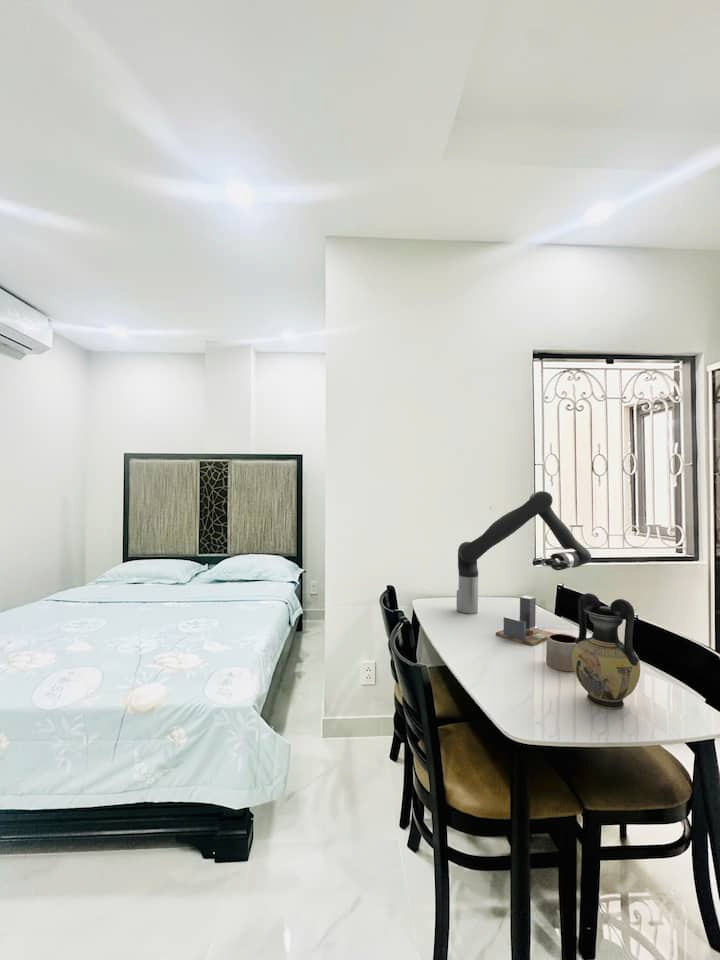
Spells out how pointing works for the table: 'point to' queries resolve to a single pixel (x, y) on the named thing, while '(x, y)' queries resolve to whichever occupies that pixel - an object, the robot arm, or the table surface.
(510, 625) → the grey rectangular panel
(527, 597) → the block
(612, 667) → the amphora
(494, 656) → the table surface
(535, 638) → the mottled brown square slab
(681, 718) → the table surface
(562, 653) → the planter
